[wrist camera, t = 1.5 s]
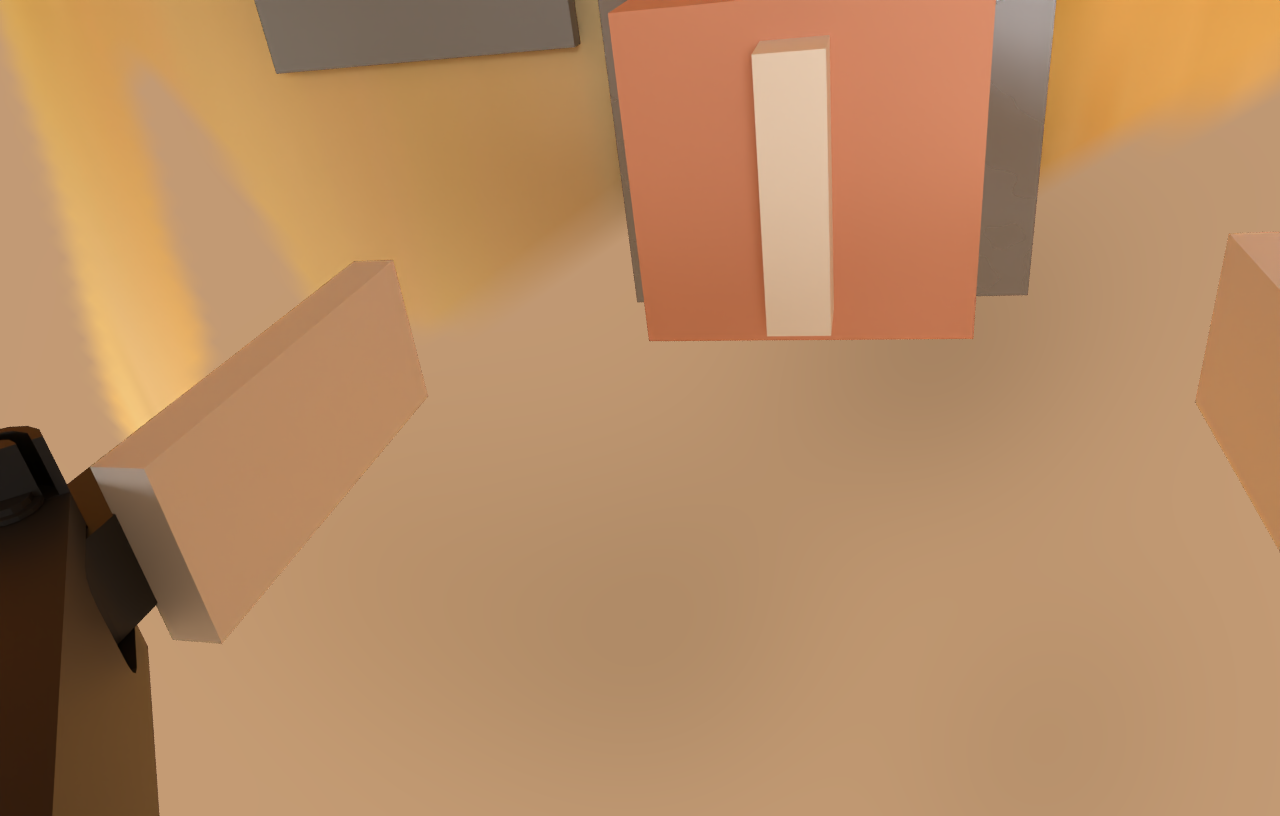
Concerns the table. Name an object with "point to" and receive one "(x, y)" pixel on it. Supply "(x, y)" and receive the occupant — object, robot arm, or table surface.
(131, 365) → the table surface
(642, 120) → the orange block
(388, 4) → the mat
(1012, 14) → the grey peg stand
